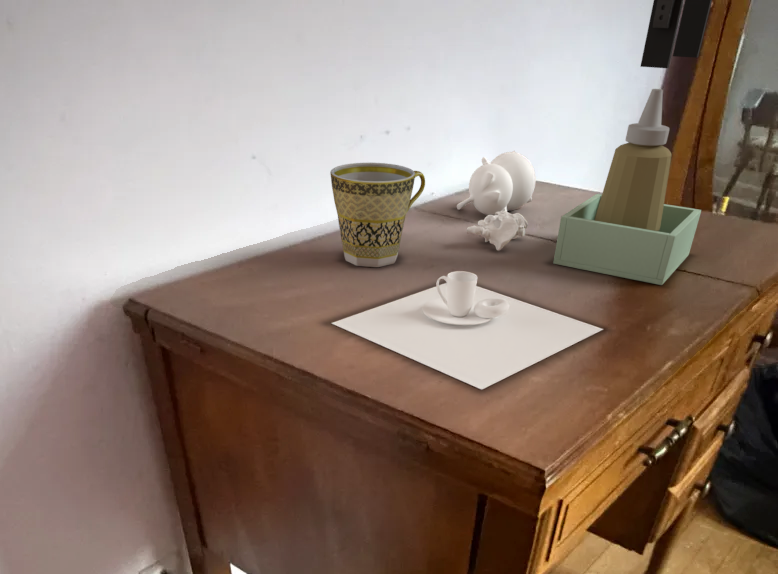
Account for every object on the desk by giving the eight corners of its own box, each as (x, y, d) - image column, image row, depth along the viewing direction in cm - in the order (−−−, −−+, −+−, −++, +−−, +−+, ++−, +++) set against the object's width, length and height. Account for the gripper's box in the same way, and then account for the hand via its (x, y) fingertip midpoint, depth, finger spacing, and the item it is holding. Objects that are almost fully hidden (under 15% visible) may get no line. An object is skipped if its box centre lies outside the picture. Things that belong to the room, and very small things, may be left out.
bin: (688, 255, 94) (701, 209, 91) (661, 285, 85) (675, 236, 81) (588, 237, 100) (596, 193, 96) (552, 263, 90) (561, 216, 87)
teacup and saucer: (518, 317, 76) (523, 279, 74) (469, 338, 72) (474, 298, 69) (455, 295, 81) (458, 258, 79) (406, 313, 77) (408, 274, 74)
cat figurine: (489, 149, 98) (534, 134, 105) (434, 183, 106) (479, 167, 113) (512, 212, 101) (554, 194, 108) (456, 241, 109) (499, 222, 116)
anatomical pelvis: (488, 202, 98) (535, 205, 96) (487, 235, 101) (533, 238, 98) (465, 215, 93) (514, 218, 90) (464, 249, 95) (512, 253, 92)
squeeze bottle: (576, 246, 94) (606, 85, 83) (629, 242, 96) (666, 83, 85) (609, 266, 88) (647, 95, 77) (665, 261, 90) (710, 93, 79)
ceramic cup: (362, 277, 85) (363, 185, 79) (316, 254, 91) (314, 168, 85) (445, 258, 91) (452, 171, 85) (397, 238, 97) (400, 156, 91)
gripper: (718, -193, 75) (665, 51, 89) (655, -239, 59) (601, 69, 72) (796, -199, 72) (728, 54, 86) (753, -249, 56) (678, 75, 69)
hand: (670, 62), depth 79 cm, fingers open, 13 cm apart
